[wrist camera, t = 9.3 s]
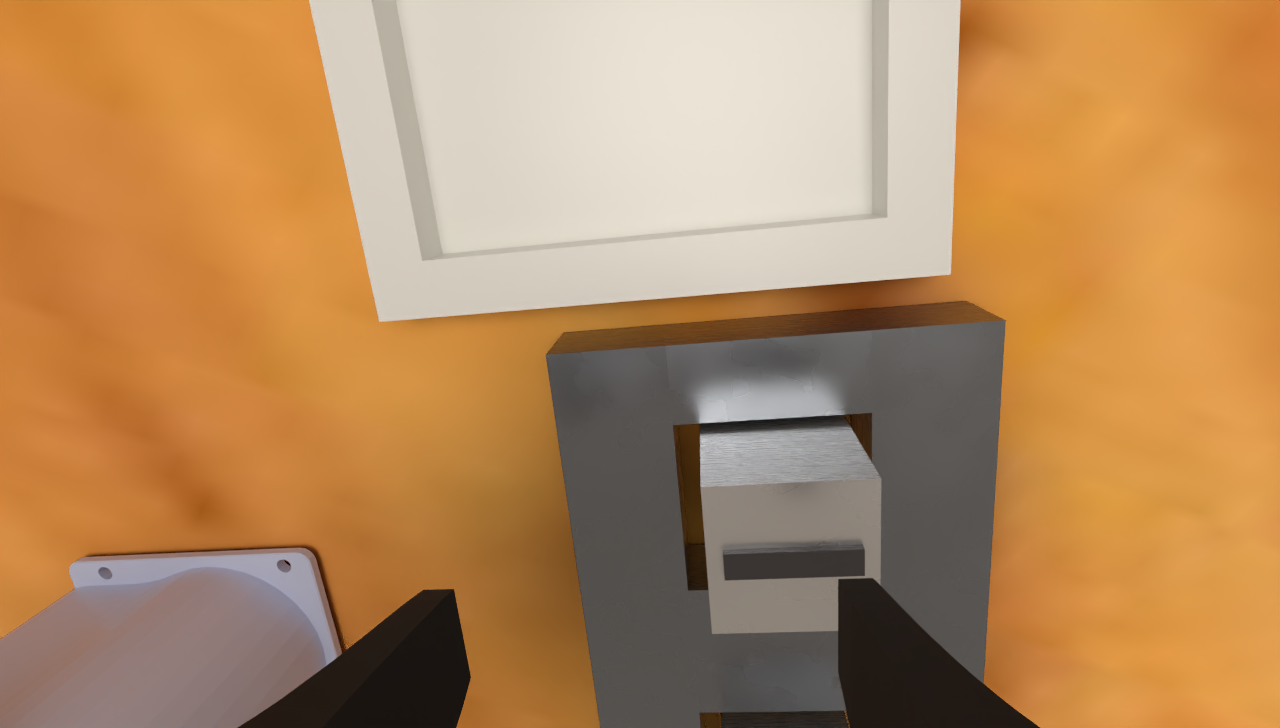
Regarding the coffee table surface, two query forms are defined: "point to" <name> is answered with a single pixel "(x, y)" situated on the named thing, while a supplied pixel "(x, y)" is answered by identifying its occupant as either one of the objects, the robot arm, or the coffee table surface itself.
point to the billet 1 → (786, 521)
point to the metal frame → (756, 390)
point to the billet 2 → (785, 719)
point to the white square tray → (640, 146)
